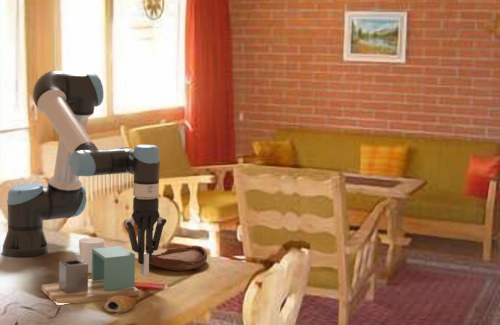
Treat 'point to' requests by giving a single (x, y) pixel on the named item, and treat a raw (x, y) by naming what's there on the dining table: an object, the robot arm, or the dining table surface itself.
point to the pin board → (86, 293)
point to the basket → (180, 258)
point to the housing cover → (113, 267)
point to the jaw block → (73, 276)
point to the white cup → (89, 249)
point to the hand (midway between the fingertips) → (144, 273)
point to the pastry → (120, 304)
